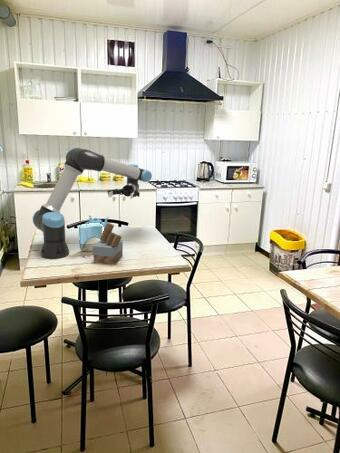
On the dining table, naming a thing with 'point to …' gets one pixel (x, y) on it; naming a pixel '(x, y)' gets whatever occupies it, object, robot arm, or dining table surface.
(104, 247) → the tower top
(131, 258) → the dining table surface
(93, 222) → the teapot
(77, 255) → the dining table surface
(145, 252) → the dining table surface
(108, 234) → the wooden block set
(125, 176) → the robot arm
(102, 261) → the tower base
